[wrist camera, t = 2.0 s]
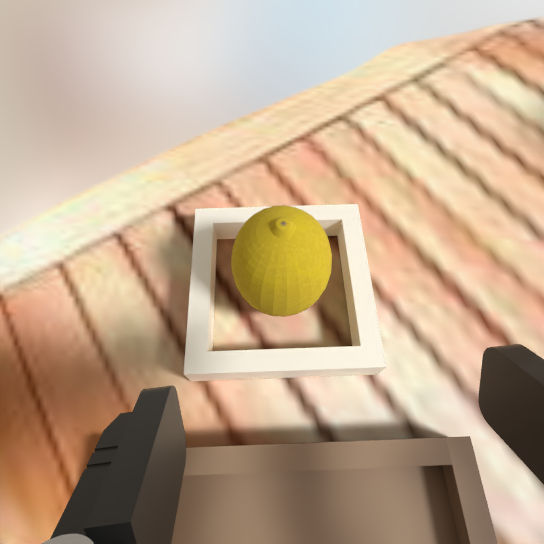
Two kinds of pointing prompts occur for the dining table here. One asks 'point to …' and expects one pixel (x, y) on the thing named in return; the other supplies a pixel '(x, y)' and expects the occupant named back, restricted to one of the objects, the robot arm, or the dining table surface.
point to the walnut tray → (334, 494)
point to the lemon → (281, 260)
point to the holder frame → (292, 361)
